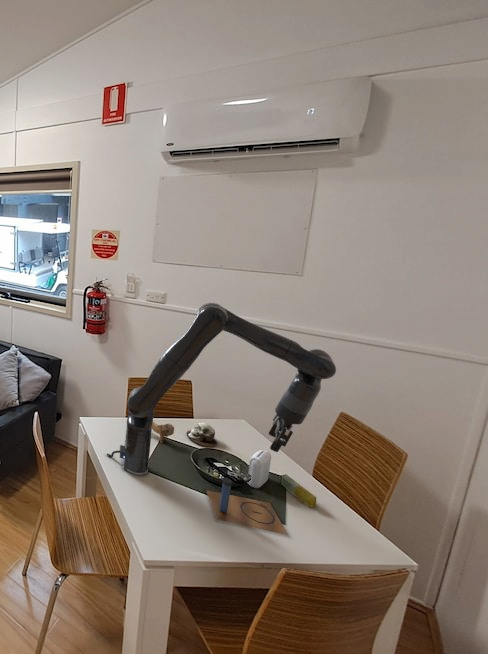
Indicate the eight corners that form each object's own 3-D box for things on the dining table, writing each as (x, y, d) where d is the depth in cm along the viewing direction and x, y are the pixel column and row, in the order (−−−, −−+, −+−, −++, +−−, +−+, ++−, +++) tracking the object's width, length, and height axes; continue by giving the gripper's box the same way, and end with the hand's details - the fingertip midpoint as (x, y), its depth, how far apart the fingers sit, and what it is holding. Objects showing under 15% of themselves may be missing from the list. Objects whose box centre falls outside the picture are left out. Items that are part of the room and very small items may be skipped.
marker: (219, 513, 126) (224, 482, 124) (217, 507, 129) (221, 476, 127) (228, 515, 126) (233, 483, 124) (226, 509, 128) (230, 478, 126)
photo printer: (256, 473, 147) (261, 445, 144) (269, 479, 143) (274, 450, 141) (244, 483, 141) (249, 454, 139) (257, 490, 138) (262, 460, 135)
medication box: (279, 484, 141) (279, 474, 140) (286, 483, 141) (286, 473, 140) (309, 508, 129) (310, 498, 128) (317, 507, 129) (317, 497, 129)
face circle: (246, 519, 124) (246, 519, 124) (236, 499, 133) (236, 499, 133) (279, 527, 121) (279, 526, 121) (267, 505, 130) (267, 505, 130)
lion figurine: (174, 442, 166) (176, 423, 165) (170, 447, 163) (172, 428, 161) (142, 428, 177) (143, 410, 175) (137, 432, 173) (138, 415, 171)
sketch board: (216, 520, 124) (216, 519, 124) (204, 487, 139) (204, 486, 139) (287, 536, 118) (288, 534, 118) (267, 499, 133) (267, 498, 133)
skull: (192, 444, 163) (188, 420, 168) (185, 448, 171) (182, 424, 177) (222, 447, 160) (217, 422, 166) (214, 450, 169) (209, 427, 174)
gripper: (279, 390, 129) (259, 425, 135) (282, 411, 118) (260, 449, 124) (305, 400, 126) (283, 436, 132) (311, 423, 114) (287, 461, 120)
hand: (272, 442), depth 128 cm, fingers open, 8 cm apart
